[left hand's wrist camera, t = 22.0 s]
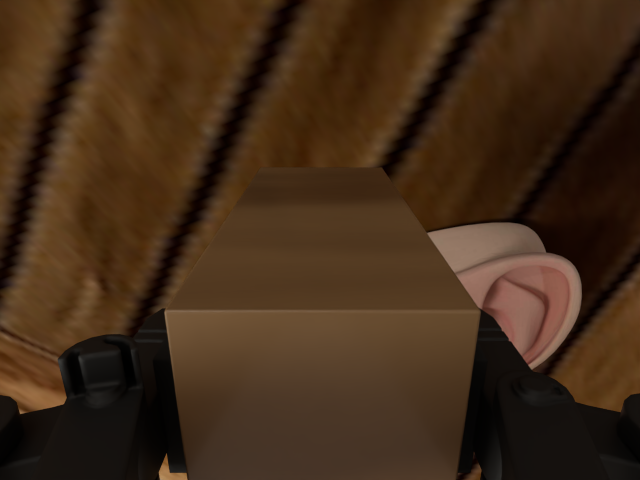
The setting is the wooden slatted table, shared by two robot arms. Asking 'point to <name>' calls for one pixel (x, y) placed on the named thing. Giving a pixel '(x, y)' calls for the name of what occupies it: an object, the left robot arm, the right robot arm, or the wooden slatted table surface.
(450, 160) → the wooden slatted table surface
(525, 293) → the anatomical model
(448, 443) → the brick
